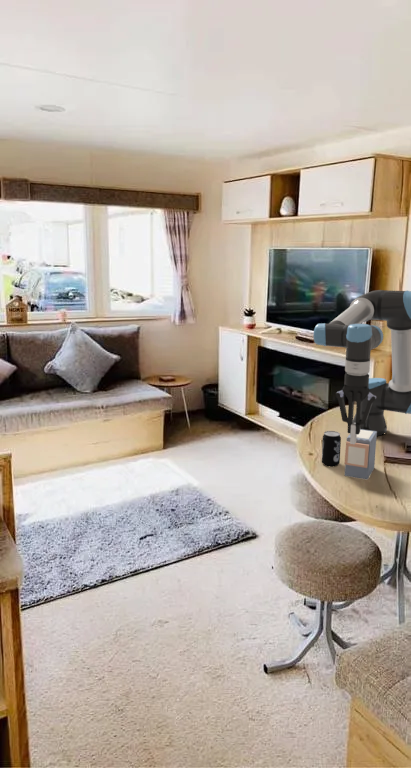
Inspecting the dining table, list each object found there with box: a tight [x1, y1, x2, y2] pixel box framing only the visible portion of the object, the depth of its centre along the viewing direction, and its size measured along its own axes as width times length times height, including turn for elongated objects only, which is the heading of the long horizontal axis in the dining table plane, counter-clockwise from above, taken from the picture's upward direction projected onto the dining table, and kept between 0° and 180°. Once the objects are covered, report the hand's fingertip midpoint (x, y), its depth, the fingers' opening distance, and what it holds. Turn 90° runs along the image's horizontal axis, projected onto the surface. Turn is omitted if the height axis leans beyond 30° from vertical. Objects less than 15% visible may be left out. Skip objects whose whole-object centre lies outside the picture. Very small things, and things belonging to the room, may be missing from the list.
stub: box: [344, 440, 369, 468], centre depth 191 cm, size 8×8×1 cm
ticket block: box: [344, 429, 377, 481], centre depth 198 cm, size 12×8×14 cm, turn 153°
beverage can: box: [321, 430, 342, 468], centre depth 206 cm, size 7×7×12 cm
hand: (353, 442), depth 183 cm, fingers closed
